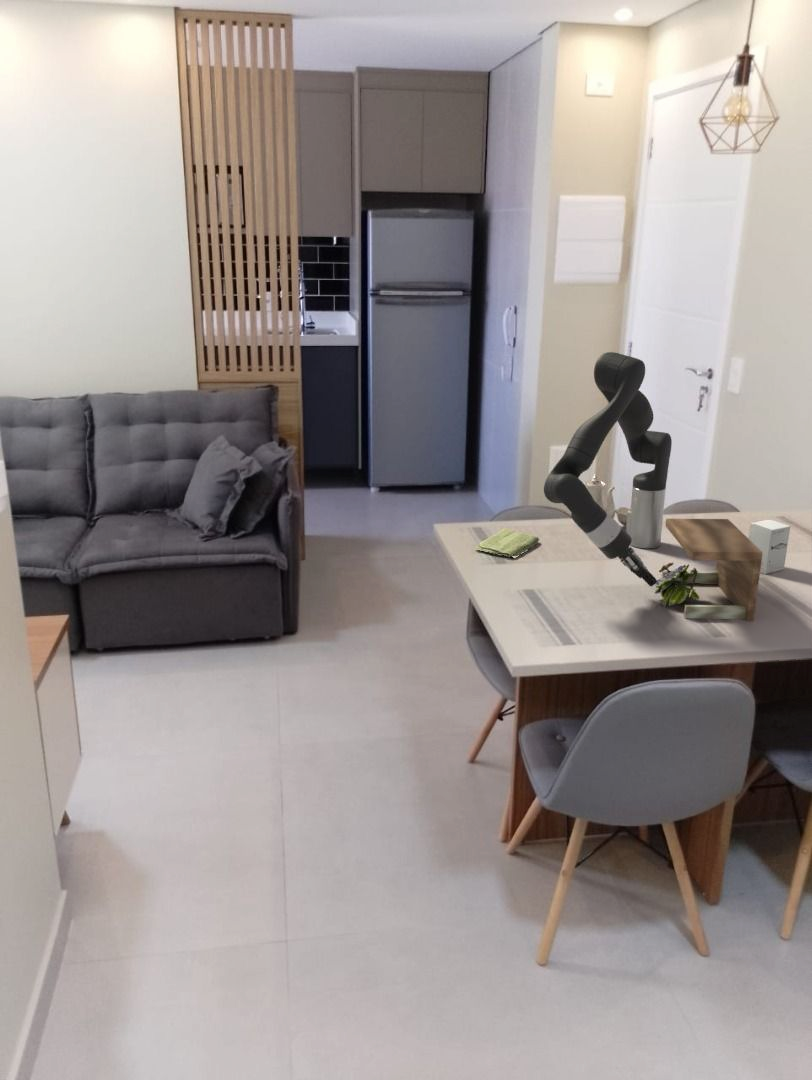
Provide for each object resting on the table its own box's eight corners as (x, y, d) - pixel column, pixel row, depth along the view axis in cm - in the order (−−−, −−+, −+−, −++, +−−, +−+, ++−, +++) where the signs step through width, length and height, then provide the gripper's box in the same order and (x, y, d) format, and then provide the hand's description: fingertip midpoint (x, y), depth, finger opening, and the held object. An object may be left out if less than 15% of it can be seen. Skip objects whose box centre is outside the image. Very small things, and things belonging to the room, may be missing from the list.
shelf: (686, 620, 206) (693, 551, 201) (660, 580, 230) (666, 518, 224) (753, 620, 206) (762, 552, 200) (720, 581, 230) (728, 519, 224)
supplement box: (765, 575, 234) (771, 529, 230) (743, 566, 240) (749, 522, 236) (784, 570, 237) (791, 525, 233) (762, 561, 243) (768, 518, 239)
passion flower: (661, 615, 222) (668, 570, 225) (704, 618, 215) (710, 571, 218) (645, 602, 214) (652, 556, 217) (689, 605, 207) (695, 557, 210)
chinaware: (650, 532, 273) (658, 479, 269) (622, 539, 261) (630, 484, 257) (574, 513, 291) (580, 464, 287) (544, 519, 280) (550, 468, 275)
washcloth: (472, 552, 252) (473, 542, 251) (503, 536, 265) (503, 526, 264) (513, 562, 245) (513, 551, 244) (542, 544, 258) (542, 534, 257)
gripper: (625, 534, 206) (672, 583, 210) (614, 516, 219) (659, 563, 222) (600, 554, 208) (647, 603, 212) (591, 536, 221) (636, 583, 224)
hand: (653, 583), depth 217 cm, fingers closed
